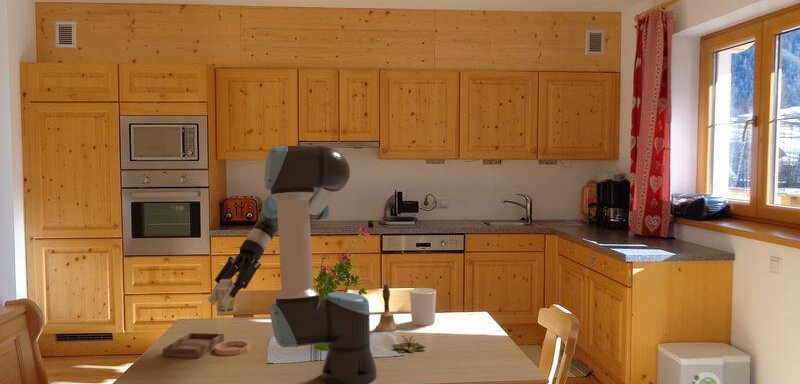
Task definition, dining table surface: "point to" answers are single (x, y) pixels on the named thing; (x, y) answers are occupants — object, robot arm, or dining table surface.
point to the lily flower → (408, 344)
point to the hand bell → (386, 314)
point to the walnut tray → (193, 345)
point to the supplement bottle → (221, 292)
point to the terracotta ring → (232, 351)
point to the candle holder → (423, 306)
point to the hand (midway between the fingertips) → (217, 303)
